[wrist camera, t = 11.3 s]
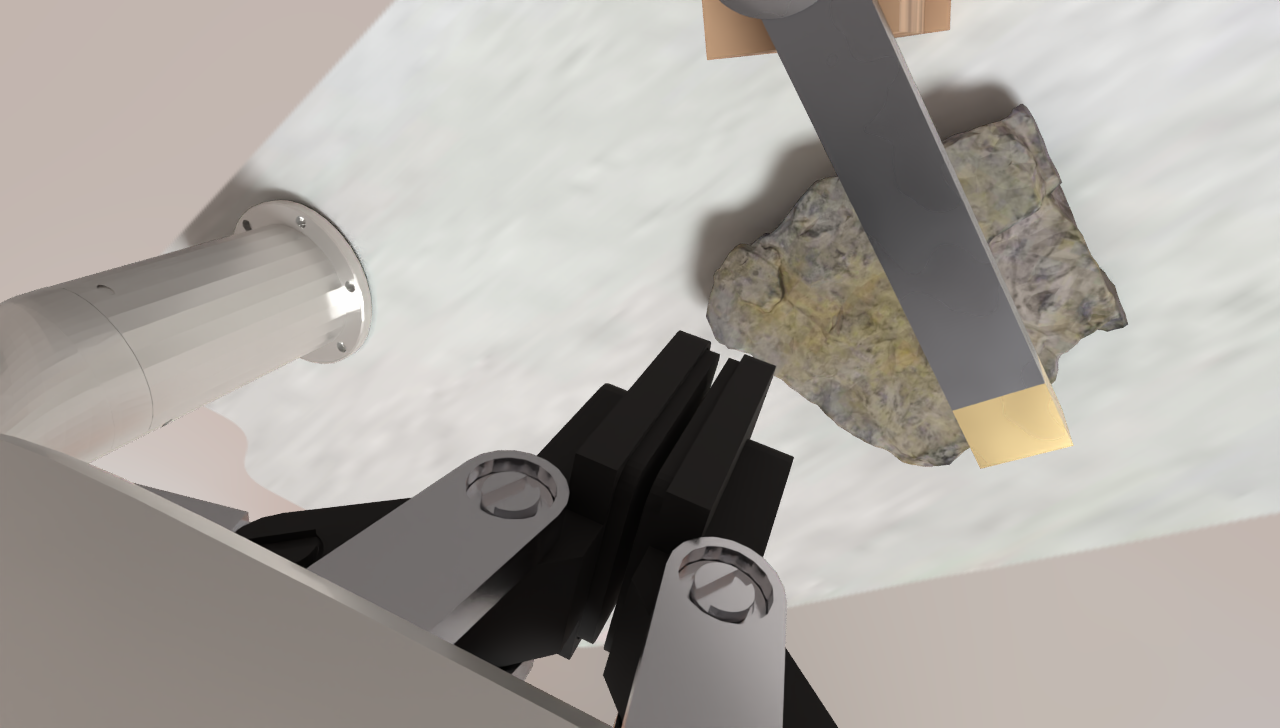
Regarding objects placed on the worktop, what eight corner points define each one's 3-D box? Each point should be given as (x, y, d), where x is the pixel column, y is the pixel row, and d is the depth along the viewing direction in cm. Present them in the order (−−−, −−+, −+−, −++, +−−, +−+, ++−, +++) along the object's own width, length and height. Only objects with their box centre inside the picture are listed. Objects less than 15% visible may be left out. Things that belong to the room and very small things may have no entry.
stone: (977, 46, 30) (980, 48, 27) (1185, 311, 31) (1209, 340, 28) (694, 282, 40) (674, 301, 37) (859, 477, 41) (851, 510, 38)
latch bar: (694, -86, 14) (663, -101, 12) (829, -199, 12) (813, -231, 11) (951, 437, 16) (952, 478, 15) (1091, 398, 15) (1108, 439, 13)
